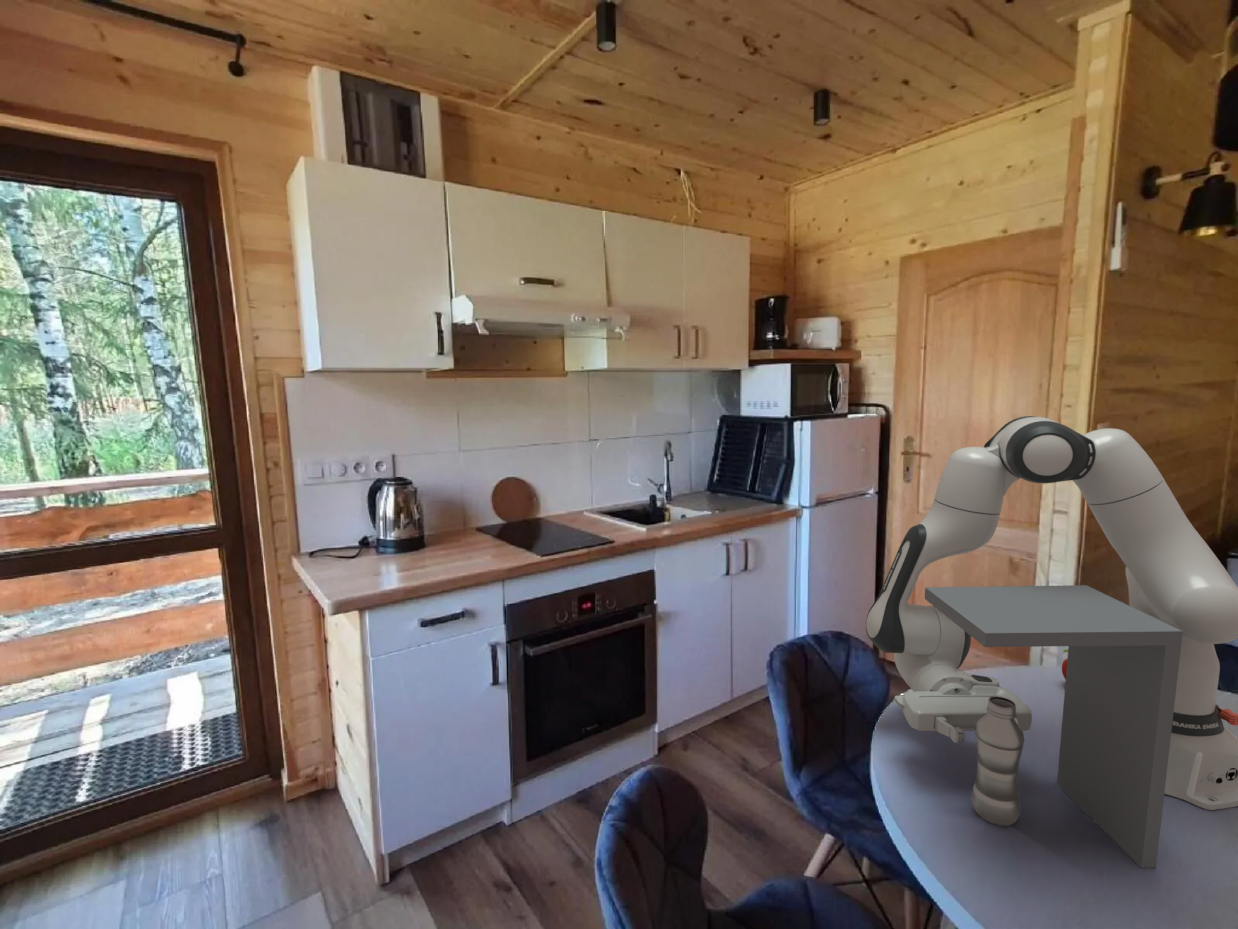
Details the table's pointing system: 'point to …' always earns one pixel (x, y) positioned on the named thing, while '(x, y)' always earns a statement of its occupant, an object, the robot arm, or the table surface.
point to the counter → (1093, 694)
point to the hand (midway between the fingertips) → (989, 738)
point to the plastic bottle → (998, 763)
